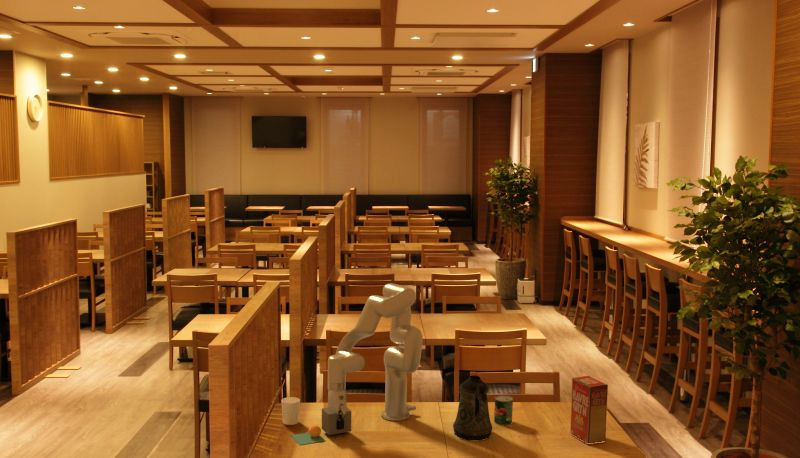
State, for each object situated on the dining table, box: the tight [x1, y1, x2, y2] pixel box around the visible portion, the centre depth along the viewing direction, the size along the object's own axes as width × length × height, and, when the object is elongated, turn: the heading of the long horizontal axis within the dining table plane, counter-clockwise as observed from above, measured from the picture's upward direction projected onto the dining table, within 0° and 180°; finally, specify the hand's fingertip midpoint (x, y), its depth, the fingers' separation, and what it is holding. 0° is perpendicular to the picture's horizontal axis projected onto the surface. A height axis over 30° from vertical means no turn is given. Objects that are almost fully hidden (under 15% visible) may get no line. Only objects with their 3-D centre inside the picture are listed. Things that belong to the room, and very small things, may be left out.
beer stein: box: [452, 374, 493, 441], centre depth 330 cm, size 16×19×25 cm
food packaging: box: [569, 375, 609, 443], centre depth 329 cm, size 13×9×25 cm
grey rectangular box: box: [321, 406, 352, 436], centre depth 329 cm, size 10×8×9 cm
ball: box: [308, 424, 322, 438], centre depth 325 cm, size 5×5×5 cm
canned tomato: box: [493, 395, 514, 426], centre depth 346 cm, size 8×8×11 cm
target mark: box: [290, 431, 326, 446], centre depth 324 cm, size 11×11×1 cm
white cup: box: [280, 396, 301, 426], centre depth 341 cm, size 8×8×10 cm
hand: (336, 425), depth 330 cm, fingers closed on grey rectangular box, 7 cm apart
